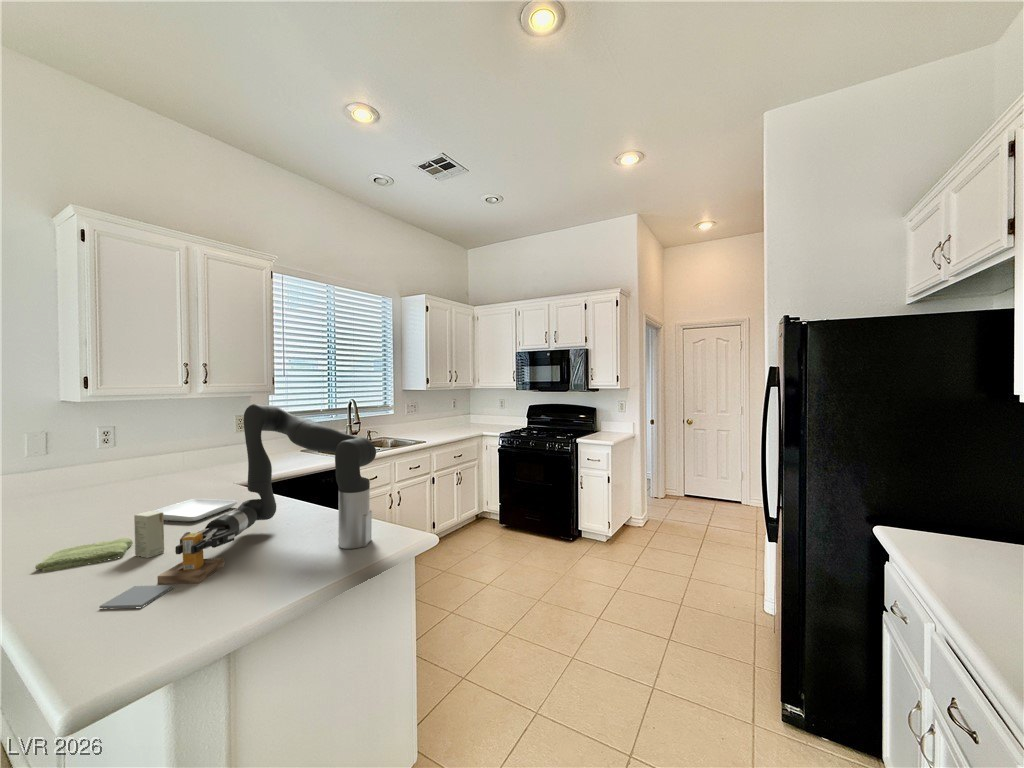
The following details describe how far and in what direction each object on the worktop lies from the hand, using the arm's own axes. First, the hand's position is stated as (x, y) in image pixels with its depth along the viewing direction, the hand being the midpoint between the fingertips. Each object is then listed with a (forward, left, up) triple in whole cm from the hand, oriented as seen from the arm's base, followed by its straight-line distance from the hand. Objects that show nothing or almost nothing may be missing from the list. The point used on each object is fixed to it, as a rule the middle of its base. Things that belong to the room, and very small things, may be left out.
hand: (185, 550), depth 105 cm
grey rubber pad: (+4, +9, -7) cm, 12 cm away
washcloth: (+38, -15, -8) cm, 42 cm away
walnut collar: (0, -3, -7) cm, 8 cm away
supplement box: (0, -3, -7) cm, 8 cm away
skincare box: (+22, -17, -8) cm, 29 cm away
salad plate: (+36, -55, -8) cm, 66 cm away
